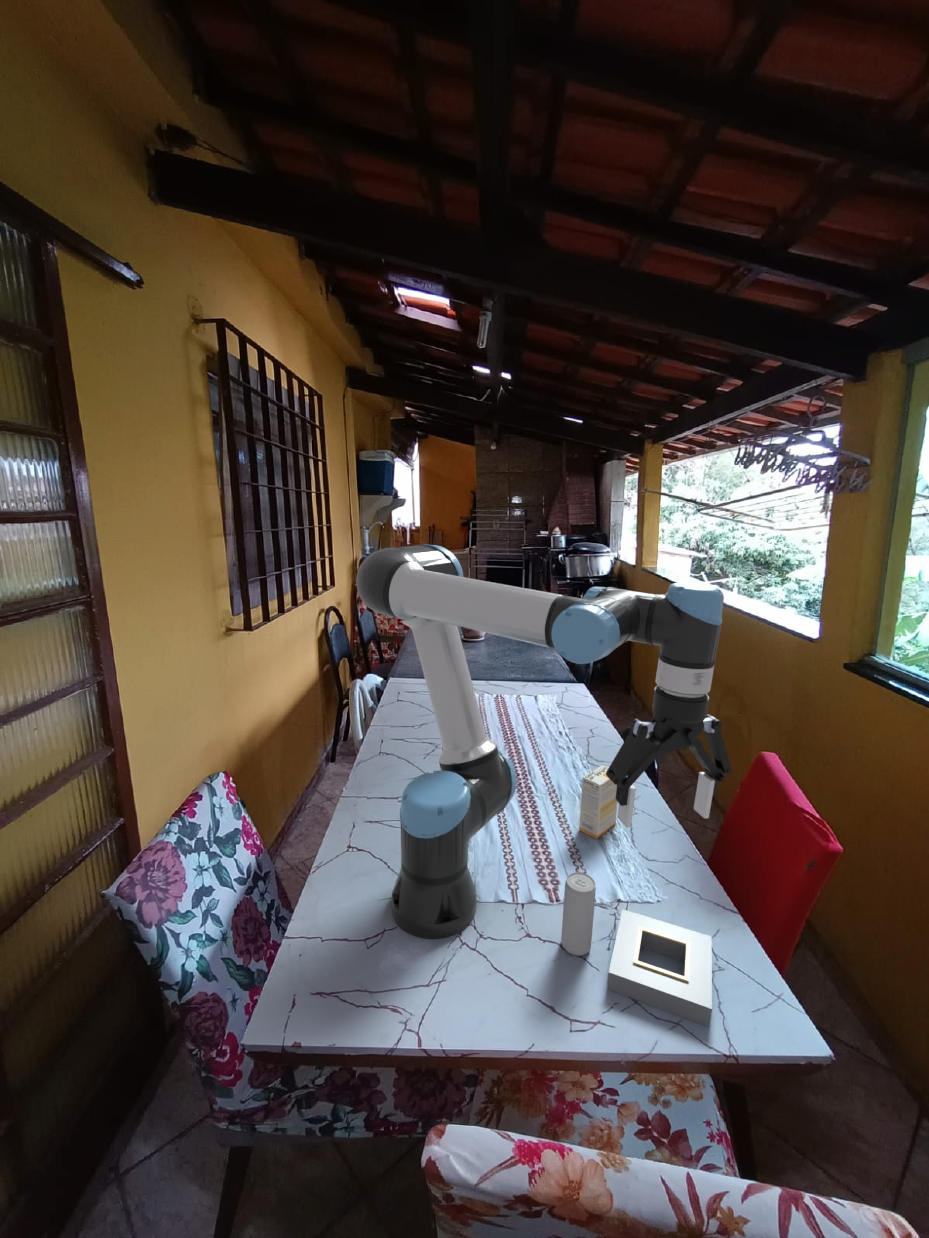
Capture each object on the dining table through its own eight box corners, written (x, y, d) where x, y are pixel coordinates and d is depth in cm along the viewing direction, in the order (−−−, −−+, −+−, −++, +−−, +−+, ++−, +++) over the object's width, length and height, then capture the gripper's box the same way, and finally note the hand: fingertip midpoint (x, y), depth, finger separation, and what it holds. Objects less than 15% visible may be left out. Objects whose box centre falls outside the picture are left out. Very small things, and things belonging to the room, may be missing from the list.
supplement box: (597, 815, 125) (601, 763, 122) (616, 824, 122) (621, 771, 119) (577, 830, 119) (581, 776, 116) (596, 839, 116) (600, 784, 113)
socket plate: (606, 988, 80) (608, 970, 79) (620, 923, 93) (622, 907, 92) (709, 1026, 75) (712, 1007, 74) (709, 952, 87) (711, 934, 86)
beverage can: (569, 929, 91) (574, 867, 89) (596, 944, 88) (601, 880, 86) (555, 947, 88) (559, 882, 85) (582, 963, 85) (587, 897, 82)
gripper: (618, 702, 72) (602, 841, 77) (772, 694, 78) (748, 823, 83) (592, 683, 79) (579, 811, 84) (735, 677, 85) (715, 797, 90)
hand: (663, 817), depth 84 cm, fingers open, 13 cm apart
